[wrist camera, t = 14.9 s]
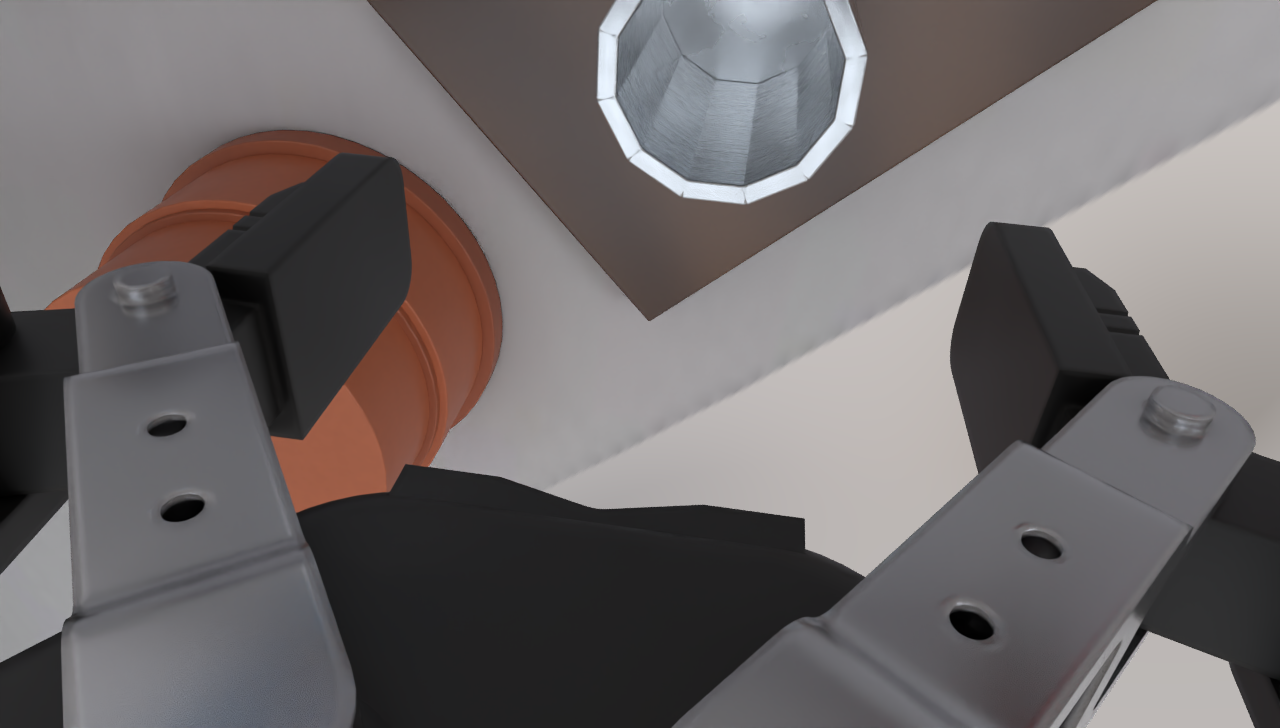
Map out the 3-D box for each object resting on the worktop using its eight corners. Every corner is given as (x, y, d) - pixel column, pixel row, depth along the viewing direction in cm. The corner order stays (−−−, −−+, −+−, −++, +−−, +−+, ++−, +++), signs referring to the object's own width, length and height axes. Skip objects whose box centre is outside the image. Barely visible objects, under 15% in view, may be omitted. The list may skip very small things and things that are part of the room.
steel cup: (645, 83, 29) (592, 188, 22) (657, -123, 26) (599, -80, 19) (828, 102, 29) (837, 216, 21) (864, -106, 25) (890, -56, 18)
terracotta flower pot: (209, 412, 43) (68, 565, 35) (126, 110, 34) (-86, 217, 26) (508, 455, 41) (435, 625, 33) (496, 151, 33) (394, 276, 25)
